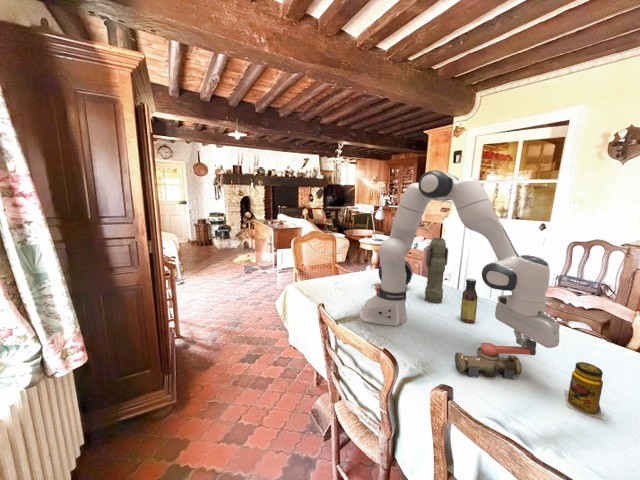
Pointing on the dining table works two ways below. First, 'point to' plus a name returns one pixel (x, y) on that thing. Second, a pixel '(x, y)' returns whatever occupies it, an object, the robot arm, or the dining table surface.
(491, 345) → the lever
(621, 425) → the dining table surface
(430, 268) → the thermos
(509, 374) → the valve body
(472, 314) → the sauce bottle
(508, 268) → the robot arm
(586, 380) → the condiment
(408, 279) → the ring
